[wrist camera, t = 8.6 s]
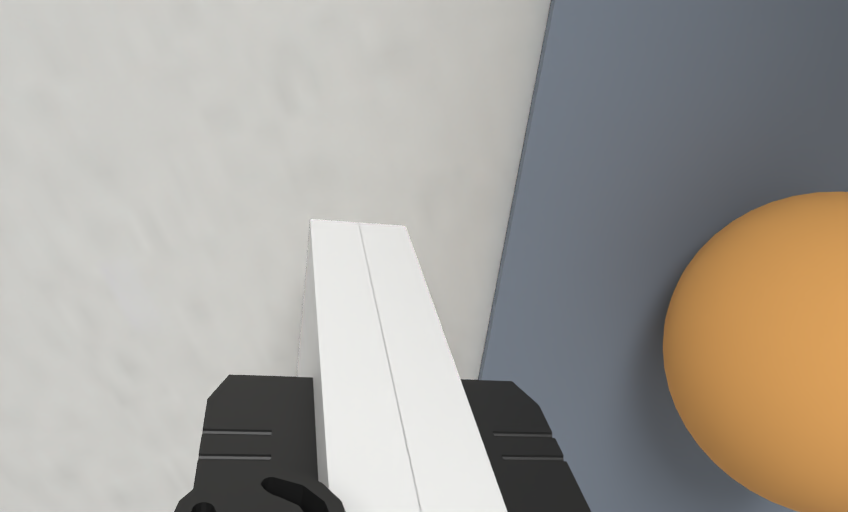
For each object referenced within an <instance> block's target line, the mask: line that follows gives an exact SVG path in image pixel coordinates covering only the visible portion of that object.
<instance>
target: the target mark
mask: <svg viewBox="0 0 848 512" xmlns="http://www.w3.org/2000/svg"><path fill="white" fill-rule="evenodd" d="M816 192H848V0H551V5H550V10H549V15H548V21H547V26H546V31H545V36H544V41H543V47H542V52H541V57H540V62H539V67H538V73H537V78H536V83H535V88H534V93H533V98H532V104H531V109H530V114H529V119H528V124H527V130H526V135H525V140H524V145H523V150H522V156H521V161H520V166H519V171H518V176H517V181H516V187H515V192H514V197H513V202H512V207H511V213H510V218H509V223H508V228H507V233H506V238H505V244H504V249H503V254H502V259H501V264H500V270H499V275H498V280H497V285H496V290H495V296H494V301H493V306H492V311H491V316H490V321H489V327H488V332H487V337H486V342H485V347H484V353H483V358H482V363H481V368H480V373H479V379H478V380H493V381H512V382H514V383H515V384H516V385H517V386H518V387H519V388H520V389H521V390H523V391H524V392H525V393H526V394H527V395H528V396H529V397H530V398H532V399H533V400H534V401H535V402H536V403H537V404H538V405H539V406H540V408H541V410H542V412H543V414H544V416H545V418H546V420H547V422H548V425H549V427H550V429H551V431H552V438H555V439H556V441H557V443H558V445H559V447H560V449H561V451H562V453H563V455H564V457H563V459H564V461H567V463H568V465H569V467H570V469H571V471H572V473H573V475H574V477H575V479H576V482H577V484H578V486H579V488H580V490H581V492H582V494H583V496H584V498H585V500H586V502H587V504H588V506H589V508H590V510H591V512H799V511H795V510H792V509H789V508H787V507H784V506H781V505H779V504H776V503H773V502H771V501H769V500H767V499H765V498H763V497H761V496H760V495H758V494H756V493H754V492H752V491H750V490H749V489H747V488H746V487H744V486H743V485H741V484H740V483H738V482H737V481H735V480H734V479H733V478H731V477H730V476H729V475H728V474H726V473H725V472H724V471H723V470H722V469H721V468H720V467H718V466H717V465H716V464H715V463H714V462H713V461H712V460H711V459H710V458H709V456H708V455H707V454H706V453H705V452H704V451H703V450H702V449H701V448H700V446H699V445H698V444H697V442H696V441H695V440H694V438H693V437H692V435H691V434H690V432H689V431H688V430H687V428H686V427H685V425H684V423H683V421H682V419H681V417H680V415H679V413H678V411H677V409H676V407H675V404H674V402H673V399H672V396H671V393H670V391H669V387H668V383H667V378H666V373H665V369H664V358H663V335H664V324H665V318H666V314H667V311H668V307H669V304H670V300H671V297H672V295H673V292H674V290H675V288H676V286H677V283H678V281H679V279H680V277H681V275H682V273H683V272H684V270H685V268H686V267H687V266H688V264H689V263H690V262H691V260H692V259H693V258H694V256H695V255H696V254H697V252H698V251H699V250H700V249H701V248H702V247H703V246H704V245H705V244H706V243H707V242H708V241H709V240H710V239H711V238H712V237H713V236H714V235H715V234H716V233H718V232H719V231H720V230H722V229H723V228H724V227H726V226H727V225H728V224H729V223H731V222H732V221H734V220H735V219H737V218H739V217H741V216H742V215H744V214H746V213H748V212H750V211H751V210H754V209H756V208H758V207H761V206H763V205H766V204H768V203H770V202H773V201H777V200H781V199H784V198H788V197H791V196H796V195H802V194H809V193H816Z"/></svg>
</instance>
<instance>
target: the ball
mask: <svg viewBox="0 0 848 512" xmlns="http://www.w3.org/2000/svg"><path fill="white" fill-rule="evenodd" d="M663 358H664V369H665V373H666V378H667V383H668V387H669V391H670V393H671V396H672V399H673V402H674V404H675V407H676V409H677V411H678V413H679V415H680V417H681V419H682V421H683V423H684V425H685V427H686V428H687V430H688V431H689V432H690V434H691V435H692V437H693V438H694V440H695V441H696V442H697V444H698V445H699V446H700V448H701V449H702V450H703V451H704V452H705V453H706V454H707V455H708V456H709V458H710V459H711V460H712V461H713V462H714V463H715V464H716V465H717V466H718V467H720V468H721V469H722V470H723V471H724V472H725V473H726V474H728V475H729V476H730V477H731V478H733V479H734V480H735V481H737V482H738V483H740V484H741V485H743V486H744V487H746V488H747V489H749V490H750V491H752V492H754V493H756V494H758V495H760V496H761V497H763V498H765V499H767V500H769V501H771V502H773V503H776V504H779V505H781V506H784V507H787V508H789V509H792V510H795V511H799V512H848V192H816V193H809V194H802V195H796V196H791V197H788V198H784V199H781V200H777V201H773V202H770V203H768V204H766V205H763V206H761V207H758V208H756V209H754V210H751V211H750V212H748V213H746V214H744V215H742V216H741V217H739V218H737V219H735V220H734V221H732V222H731V223H729V224H728V225H727V226H726V227H724V228H723V229H722V230H720V231H719V232H718V233H716V234H715V235H714V236H713V237H712V238H711V239H710V240H709V241H708V242H707V243H706V244H705V245H704V246H703V247H702V248H701V249H700V250H699V251H698V252H697V254H696V255H695V256H694V258H693V259H692V260H691V262H690V263H689V264H688V266H687V267H686V268H685V270H684V272H683V273H682V275H681V277H680V279H679V281H678V283H677V286H676V288H675V290H674V292H673V295H672V297H671V300H670V304H669V307H668V311H667V314H666V318H665V324H664V335H663Z"/></svg>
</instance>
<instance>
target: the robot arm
mask: <svg viewBox="0 0 848 512" xmlns="http://www.w3.org/2000/svg"><path fill="white" fill-rule="evenodd" d="M563 457H564V455H563V453H562V451H561V449H560V447H559V445H558V443H557V441H556V439H555V438H552V431H551V429H550V427H549V425H548V422H547V420H546V418H545V416H544V414H543V412H542V410H541V408H540V406H539V405H538V404H537V403H536V402H535V401H534V400H533V399H532V398H530V397H529V396H528V395H527V394H526V393H525V392H524V391H523V390H521V389H520V388H519V387H518V386H517V385H516V384H515V383H514V382H512V381H493V380H463V379H460V377H459V374H458V371H457V368H456V366H455V363H454V360H453V357H452V354H451V351H450V349H449V346H448V343H447V340H446V337H445V335H444V332H443V329H442V326H441V323H440V321H439V318H438V315H437V312H436V309H435V306H434V304H433V301H432V298H431V295H430V292H429V290H428V287H427V284H426V281H425V278H424V276H423V273H422V270H421V267H420V264H419V261H418V259H417V256H416V253H415V250H414V247H413V245H412V242H411V239H410V236H409V233H408V231H407V228H406V226H403V225H389V224H375V223H361V222H347V221H332V220H318V219H310V227H309V238H308V250H307V261H306V273H305V284H304V296H303V307H302V319H301V330H300V342H299V353H298V365H297V377H285V376H254V375H229V376H228V377H227V378H226V379H225V380H224V381H223V382H222V383H221V385H220V386H219V387H218V388H217V389H216V390H215V391H214V392H213V394H212V395H211V396H210V397H209V398H208V399H207V406H206V412H205V418H204V425H203V434H202V437H201V444H200V450H199V459H198V463H197V469H196V475H195V482H194V488H193V490H192V491H191V492H189V493H188V494H187V495H186V496H185V497H183V498H182V499H181V500H180V501H179V503H178V505H177V507H176V509H175V511H174V512H591V510H590V508H589V506H588V504H587V502H586V500H585V498H584V496H583V494H582V492H581V490H580V488H579V486H578V484H577V482H576V479H575V477H574V475H573V473H572V471H571V469H570V467H569V465H568V463H567V461H564V459H563Z"/></svg>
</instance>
